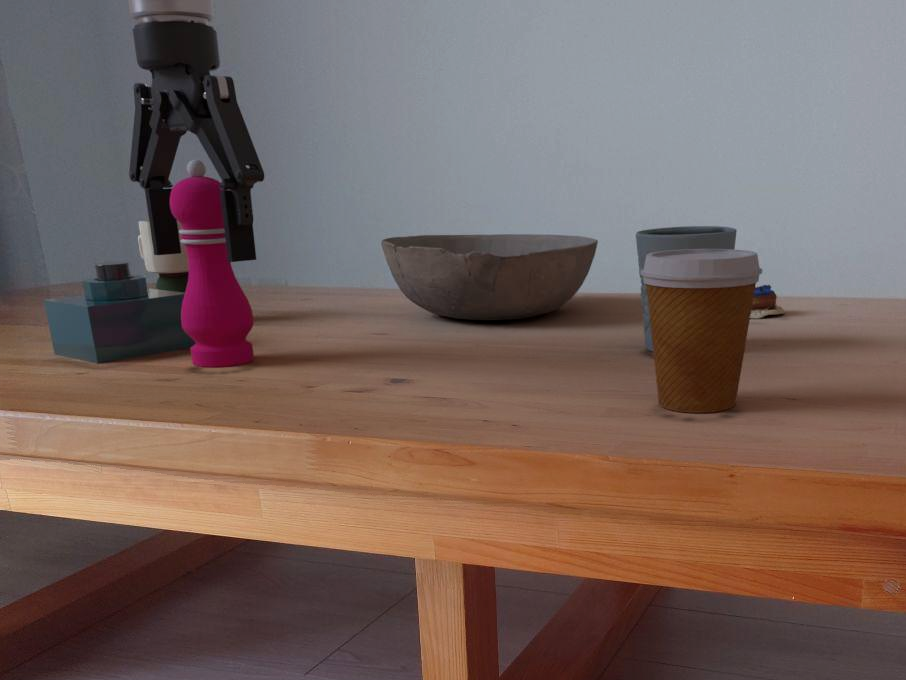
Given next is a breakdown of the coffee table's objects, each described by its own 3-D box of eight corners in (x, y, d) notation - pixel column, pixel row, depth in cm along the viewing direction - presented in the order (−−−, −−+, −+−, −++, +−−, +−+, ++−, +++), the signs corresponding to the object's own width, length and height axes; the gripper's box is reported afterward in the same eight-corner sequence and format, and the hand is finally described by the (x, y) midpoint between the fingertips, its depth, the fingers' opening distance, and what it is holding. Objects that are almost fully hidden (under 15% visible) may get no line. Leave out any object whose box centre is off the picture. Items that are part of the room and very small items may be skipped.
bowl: (347, 327, 126) (339, 244, 122) (449, 297, 149) (445, 227, 146) (550, 336, 116) (548, 245, 112) (625, 302, 139) (626, 227, 136)
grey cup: (751, 348, 106) (757, 228, 101) (674, 360, 101) (677, 235, 96) (690, 335, 114) (693, 224, 109) (616, 345, 109) (616, 230, 105)
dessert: (749, 314, 122) (736, 271, 123) (719, 340, 127) (707, 298, 129) (800, 313, 125) (787, 271, 127) (769, 338, 131) (757, 298, 132)
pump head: (107, 285, 109) (104, 265, 109) (91, 283, 112) (88, 263, 111) (138, 281, 112) (135, 262, 111) (122, 279, 114) (118, 260, 113)
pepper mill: (174, 363, 106) (142, 161, 99) (235, 353, 111) (209, 159, 104) (210, 371, 102) (179, 159, 94) (272, 360, 106) (247, 158, 99)
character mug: (233, 320, 134) (220, 217, 129) (195, 328, 128) (180, 221, 123) (171, 317, 138) (156, 217, 134) (132, 325, 132) (114, 221, 128)
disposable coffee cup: (780, 405, 82) (789, 253, 78) (690, 424, 77) (695, 262, 73) (702, 386, 89) (706, 246, 85) (616, 402, 85) (616, 254, 80)
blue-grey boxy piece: (97, 363, 107) (83, 287, 104) (54, 354, 113) (39, 281, 111) (197, 346, 116) (187, 274, 113) (152, 338, 122) (141, 270, 119)
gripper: (287, 14, 90) (309, 260, 97) (142, 38, 105) (171, 249, 112) (213, 6, 84) (243, 267, 92) (71, 32, 100) (107, 254, 107)
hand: (203, 257), depth 102 cm, fingers open, 13 cm apart
